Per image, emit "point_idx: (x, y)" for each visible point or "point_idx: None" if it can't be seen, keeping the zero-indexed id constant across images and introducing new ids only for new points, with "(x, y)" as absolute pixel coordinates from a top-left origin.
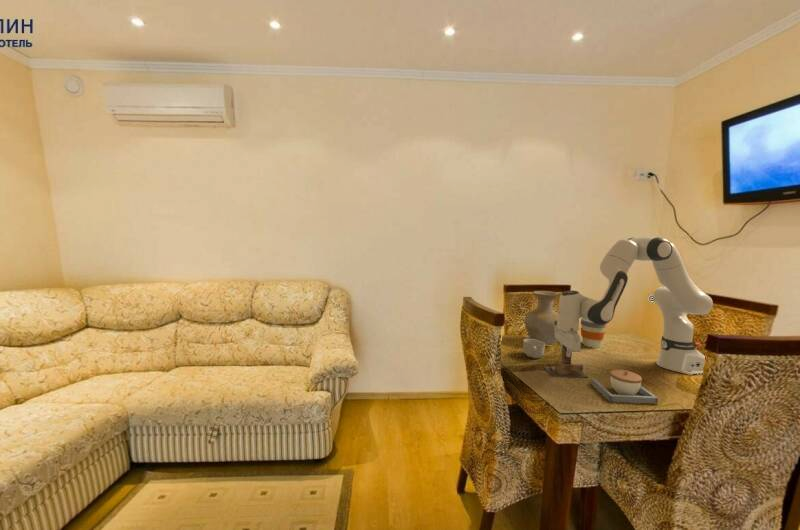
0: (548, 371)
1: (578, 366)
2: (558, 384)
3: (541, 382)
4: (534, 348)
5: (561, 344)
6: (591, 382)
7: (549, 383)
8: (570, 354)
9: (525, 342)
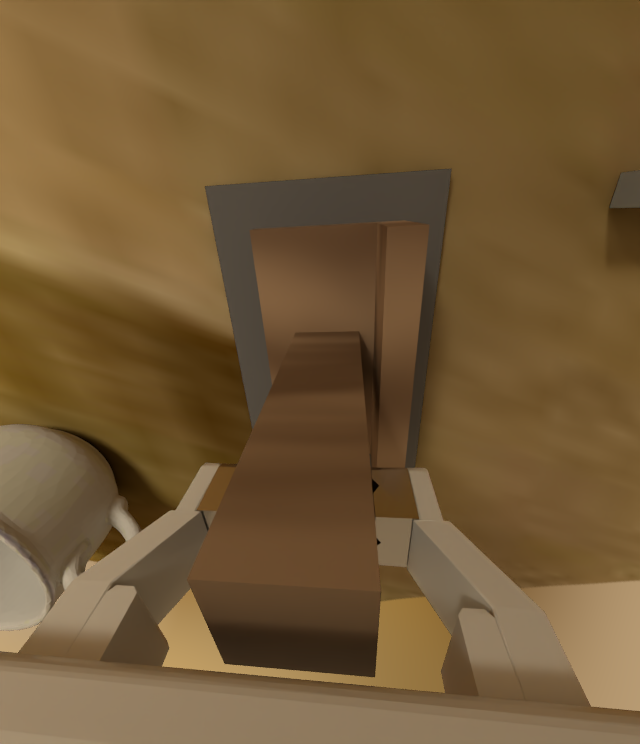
0: None
1: (418, 289)
2: (547, 469)
3: (502, 537)
4: None
5: (154, 654)
6: (631, 207)
7: (522, 508)
8: (437, 503)
9: (23, 628)
